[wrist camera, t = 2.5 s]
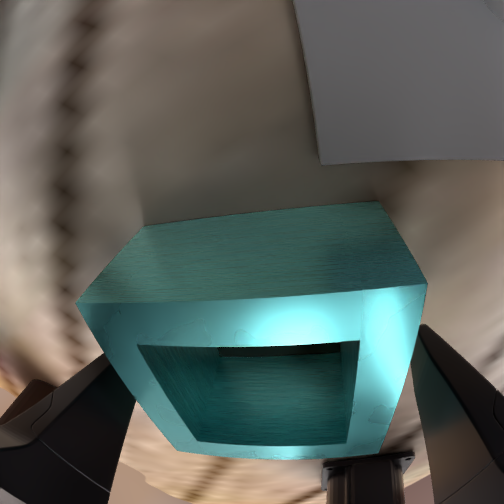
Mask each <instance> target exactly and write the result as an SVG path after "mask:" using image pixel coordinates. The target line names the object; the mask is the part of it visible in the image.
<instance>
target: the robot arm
mask: <svg viewBox="0 0 504 504" xmlns="http://www.w3.org/2000/svg"><path fill="white" fill-rule="evenodd" d="M410 363H411V370H412V377H413V385H414V392H415V397H416V402H417V406H418V410H419V415H420V419H421V424H422V428H423V433H424V438H425V444H426V449H427V454H428V460H429V466H430V473H431V479H432V486H433V494H434V502H435V504H504V396H503V395H502V394H501V393H500V392H499V391H498V390H497V391H496V388H495V387H494V386H493V385H492V384H491V383H490V382H489V381H488V380H487V379H486V378H485V377H484V376H483V375H481V374H480V373H479V372H478V371H477V370H476V369H475V368H474V367H473V366H472V365H471V364H470V363H469V362H468V361H466V360H465V359H464V358H463V357H462V356H461V355H460V354H459V353H458V352H457V351H456V350H454V349H453V348H452V347H451V346H450V345H449V344H448V343H447V342H446V341H444V340H443V339H442V338H441V337H440V336H439V335H438V334H437V333H435V332H434V331H433V330H432V329H431V328H430V327H429V326H427V325H426V324H422V325H419V330H418V334H417V338H416V342H415V346H414V350H413V354H412V358H411V361H410ZM135 403H136V399H135V397H134V396H133V395H132V393H131V392H130V391H129V389H128V388H127V386H126V385H125V383H124V382H123V381H122V379H121V378H120V376H119V375H118V373H117V372H116V370H115V369H114V367H113V366H112V364H111V363H110V361H109V360H108V358H107V356H106V355H105V353H103V354H102V355H100V356H99V357H98V358H96V359H95V360H94V361H92V362H91V363H90V364H89V365H87V366H86V367H85V368H83V369H82V370H81V371H79V372H78V373H77V374H75V375H74V376H73V377H71V378H70V379H69V380H67V381H66V382H65V383H63V384H62V385H61V386H59V387H58V388H57V389H56V390H54V392H52V393H50V394H49V395H48V396H46V397H45V398H44V399H42V400H41V401H40V402H38V403H37V404H35V405H34V406H32V407H31V408H29V409H28V410H26V411H25V412H23V413H22V414H20V415H18V416H17V417H15V418H14V419H12V420H11V421H9V422H7V423H6V424H4V425H1V426H0V504H108V500H109V496H110V492H111V488H112V484H113V480H114V476H115V472H116V468H117V464H118V461H119V457H120V454H121V450H122V446H123V443H124V439H125V436H126V433H127V429H128V426H129V422H130V419H131V416H132V412H133V409H134V406H135ZM414 459H415V452H413V451H411V452H405V453H400V454H394V455H388V456H381V457H374V458H366V459H357V460H347V461H335V462H326V463H324V464H323V466H322V485H321V490H324V491H327V503H326V504H405V495H404V483H403V474H404V473H405V471H406V470H407V469H408V467H409V466H410V464H411V463H412V462H413V460H414Z"/></svg>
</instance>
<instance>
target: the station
mask: <svg viewBox="0 0 504 504" xmlns="http://www.w3.org/2000/svg"><path fill="white" fill-rule="evenodd" d="M292 1H293V5H294V10H295V15H296V19H297V24H298V29H299V34H300V39H301V44H302V49H303V55H304V60H305V66H306V72H307V78H308V84H309V90H310V96H311V103H312V110H313V117H314V124H315V132H316V139H317V148H318V156H319V159H320V162H321V165H322V166H324V165H336V164H349V163H364V162H382V161H405V160H498V161H504V0H292Z"/></svg>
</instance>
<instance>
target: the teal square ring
mask: <svg viewBox="0 0 504 504" xmlns="http://www.w3.org/2000/svg"><path fill="white" fill-rule="evenodd" d="M427 285H428V283H427V281H426V279H425V277H424V275H423V274H422V272H421V270H420V268H419V266H418V265H417V263H416V261H415V259H414V258H413V256H412V254H411V252H410V251H409V249H408V247H407V246H406V244H405V242H404V241H403V239H402V237H401V236H400V234H399V232H398V231H397V229H396V228H395V226H394V224H393V223H392V221H391V220H390V218H389V216H388V215H387V213H386V212H385V210H384V209H383V207H382V206H381V204H380V203H379V201H372V202H359V203H346V204H334V205H323V206H312V207H301V208H291V209H281V210H271V211H262V212H253V213H244V214H235V215H226V216H218V217H210V218H202V219H194V220H186V221H179V222H171V223H164V224H157V225H150V226H144V227H143V228H142V229H141V230H140V231H139V232H138V233H137V234H136V235H135V236H134V237H133V238H132V239H131V240H130V241H129V242H128V243H127V244H126V246H125V247H124V248H123V249H122V250H121V251H120V252H119V253H118V254H117V255H116V256H115V258H114V259H113V260H112V261H111V262H110V263H109V264H108V265H107V266H106V268H105V269H104V270H103V271H102V272H101V273H100V274H99V276H98V277H97V278H96V279H95V280H94V281H93V282H92V284H91V285H90V286H89V287H88V288H87V289H86V291H85V292H84V293H83V294H82V295H81V297H80V298H79V299H78V300H77V301H76V305H77V307H78V309H79V310H80V312H81V314H82V316H83V318H84V320H85V321H86V323H87V325H88V327H89V328H90V330H91V332H92V333H93V335H94V337H95V339H96V340H97V342H98V344H99V345H100V347H101V348H102V350H103V352H104V353H105V355H106V356H107V358H108V360H109V361H110V363H111V364H112V366H113V367H114V369H115V370H116V372H117V373H118V375H119V376H120V378H121V379H122V381H123V382H124V383H125V385H126V386H127V388H128V389H129V391H130V392H131V393H132V395H133V396H134V397H135V399H136V400H137V402H138V403H139V404H140V406H141V407H142V408H143V410H144V411H145V412H146V413H147V415H148V416H149V417H150V419H151V420H152V421H153V422H154V424H155V425H156V426H157V427H158V429H159V430H160V431H161V432H162V433H163V435H164V436H165V437H166V438H167V439H168V441H169V442H170V443H171V444H172V445H173V446H174V448H175V449H176V450H177V451H182V452H189V453H196V454H204V455H213V456H223V457H234V458H250V459H323V458H338V457H350V456H359V455H368V454H376V453H379V450H380V448H381V446H382V443H383V441H384V438H385V436H386V433H387V431H388V428H389V426H390V423H391V420H392V417H393V415H394V412H395V409H396V406H397V403H398V400H399V397H400V394H401V391H402V388H403V385H404V382H405V378H406V375H407V372H408V368H409V365H410V361H411V358H412V354H413V350H414V346H415V342H416V338H417V334H418V330H419V325H420V321H421V316H422V311H423V306H424V301H425V296H426V290H427ZM332 342H340V352H337V353H324V354H309V355H291V356H262V357H220V355H219V352H218V349H217V347H255V346H284V345H303V344H318V343H332Z"/></svg>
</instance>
